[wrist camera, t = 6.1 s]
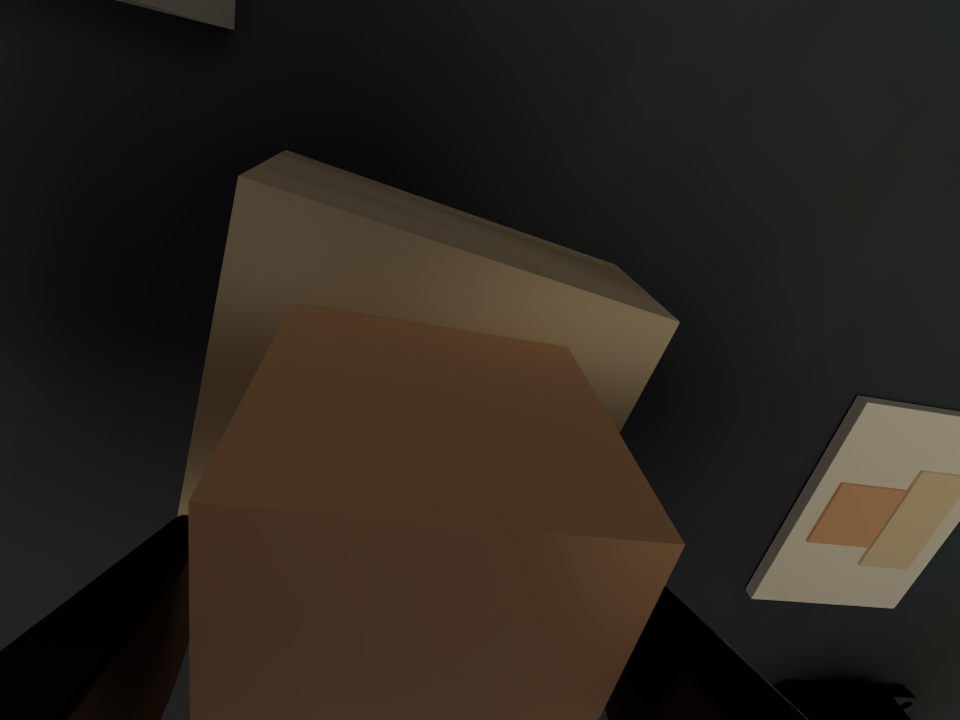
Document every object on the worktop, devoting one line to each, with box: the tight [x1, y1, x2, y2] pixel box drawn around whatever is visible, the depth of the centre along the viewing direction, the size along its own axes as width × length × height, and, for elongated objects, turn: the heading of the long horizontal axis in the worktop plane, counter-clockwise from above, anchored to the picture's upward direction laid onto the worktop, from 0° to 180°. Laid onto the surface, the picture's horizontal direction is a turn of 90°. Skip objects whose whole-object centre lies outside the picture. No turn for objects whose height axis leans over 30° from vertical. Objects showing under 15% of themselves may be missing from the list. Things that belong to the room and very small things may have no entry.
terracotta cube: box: [188, 304, 685, 720], centre depth 9 cm, size 5×5×5 cm
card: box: [745, 396, 960, 608], centre depth 18 cm, size 8×6×1 cm
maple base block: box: [177, 150, 680, 517], centre depth 13 cm, size 8×8×4 cm
